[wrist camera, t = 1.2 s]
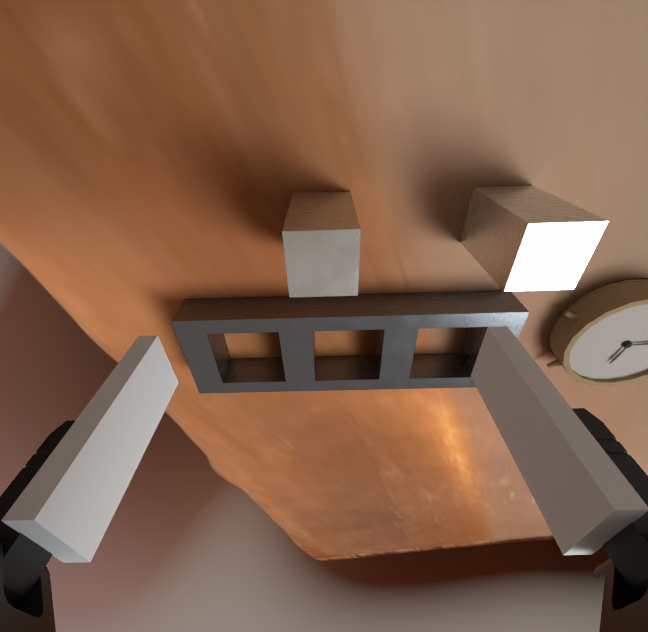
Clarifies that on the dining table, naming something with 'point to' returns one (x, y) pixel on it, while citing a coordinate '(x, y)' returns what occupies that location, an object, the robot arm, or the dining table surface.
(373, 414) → the dining table surface
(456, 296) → the grey metal flat frame
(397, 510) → the dining table surface
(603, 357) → the alarm clock
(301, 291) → the grey rectangular block
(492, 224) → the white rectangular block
